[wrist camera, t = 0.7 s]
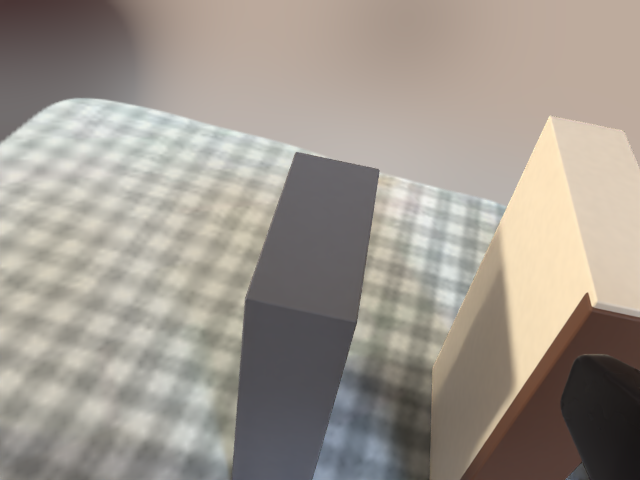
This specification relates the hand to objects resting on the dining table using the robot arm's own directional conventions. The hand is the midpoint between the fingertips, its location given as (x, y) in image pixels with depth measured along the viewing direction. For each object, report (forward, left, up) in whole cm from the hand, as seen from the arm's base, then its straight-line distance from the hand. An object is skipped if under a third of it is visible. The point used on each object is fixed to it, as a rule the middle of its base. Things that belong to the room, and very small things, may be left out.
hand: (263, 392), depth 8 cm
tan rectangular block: (+5, -11, -16) cm, 20 cm away
